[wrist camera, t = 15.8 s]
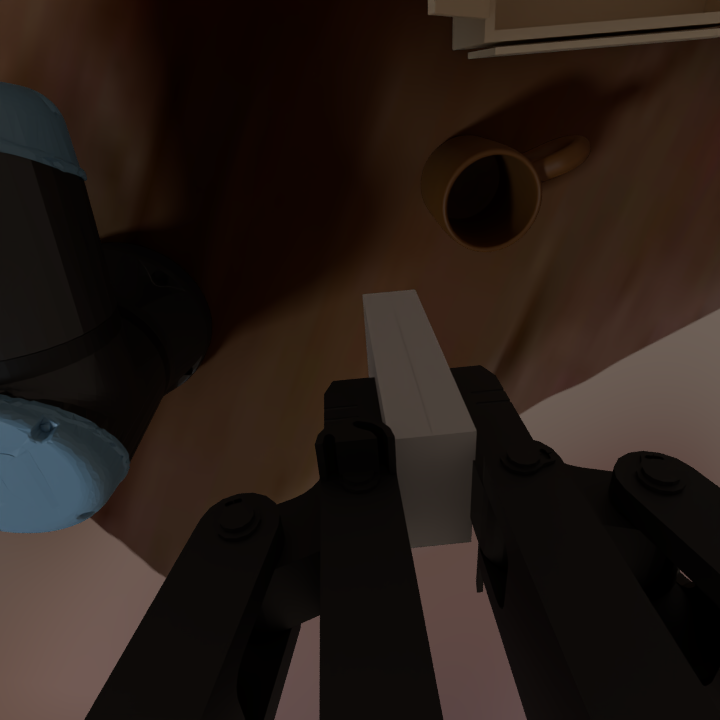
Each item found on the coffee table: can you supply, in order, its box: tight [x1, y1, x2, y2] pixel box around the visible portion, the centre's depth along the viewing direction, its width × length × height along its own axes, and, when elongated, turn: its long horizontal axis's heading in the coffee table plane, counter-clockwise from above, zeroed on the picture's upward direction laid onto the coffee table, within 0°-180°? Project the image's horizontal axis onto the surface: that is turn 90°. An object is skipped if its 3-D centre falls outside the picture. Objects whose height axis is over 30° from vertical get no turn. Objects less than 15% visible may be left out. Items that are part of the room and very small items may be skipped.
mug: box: [421, 135, 590, 252], centre depth 39 cm, size 12×8×9 cm, turn 117°
